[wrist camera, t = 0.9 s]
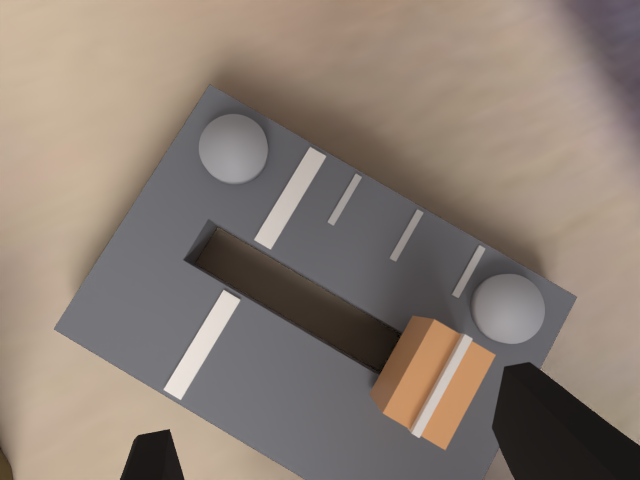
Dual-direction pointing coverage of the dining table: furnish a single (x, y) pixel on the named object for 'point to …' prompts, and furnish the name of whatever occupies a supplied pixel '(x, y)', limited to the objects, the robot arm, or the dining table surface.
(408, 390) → the fader tab
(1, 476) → the olive tapered knobbed piece
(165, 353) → the console board
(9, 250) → the dining table surface
